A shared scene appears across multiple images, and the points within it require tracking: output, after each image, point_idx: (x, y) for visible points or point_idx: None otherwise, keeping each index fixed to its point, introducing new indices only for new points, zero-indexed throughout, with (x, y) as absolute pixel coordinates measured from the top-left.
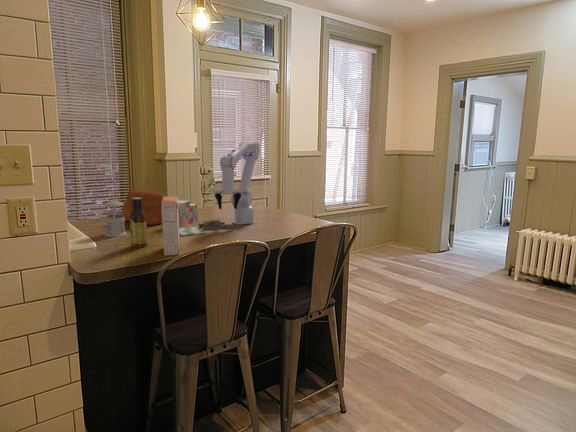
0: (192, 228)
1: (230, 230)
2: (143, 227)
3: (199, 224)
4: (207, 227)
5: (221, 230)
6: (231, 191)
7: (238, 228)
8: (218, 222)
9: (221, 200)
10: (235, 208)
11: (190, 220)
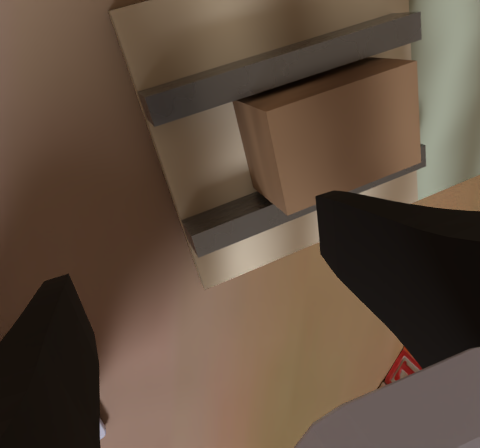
0: (444, 138)
1: (126, 7)
2: None
3: (423, 145)
4: (376, 23)
5: (228, 6)
6: (379, 437)
7: (29, 180)
8: (280, 100)
9: (431, 231)
10: (64, 277)
11: (416, 364)
